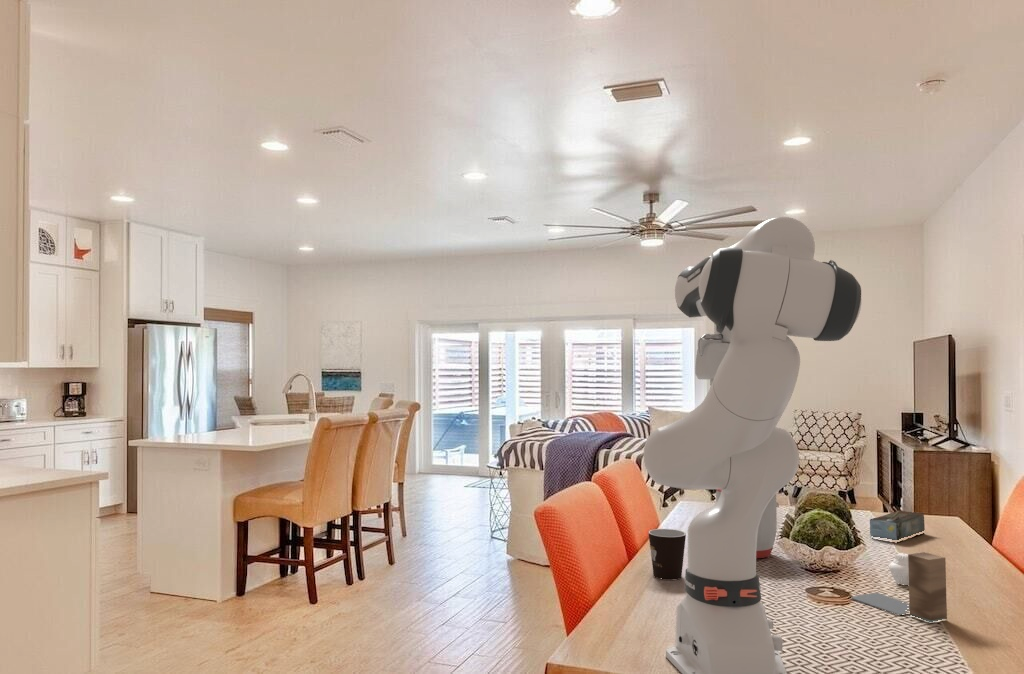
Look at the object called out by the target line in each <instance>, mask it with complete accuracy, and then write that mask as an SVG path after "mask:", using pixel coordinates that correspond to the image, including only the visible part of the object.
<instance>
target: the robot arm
mask: <svg viewBox="0 0 1024 674" xmlns="http://www.w3.org/2000/svg"><path fill="white" fill-rule="evenodd" d="M814 238H815V237H814V236H813V233H812V232H811V230H810V229H809V228H808V226H807V225H806V224H805V223H803V222H802V221H800V220H799V219H796V218H793V217H789V216H776V217H773V218H770V219H767V220H764V221H763V222H761V223H759V224H757V225H756V226H755V227H753V228H752V229H750V231H748V232H747V234H745V236H744V237H743V238H742V239H741V240H739V241H738V242H736V243H735V244H734V243H733V245H731V246H729V247H722V248H718V249H716V250H715V251H714V252H713V253H712V254H711V255H710V256H707V257H706V258H703V259H702V260H701V261H700V262H699V263H697V264H696V265H694V266H687V267H686V268H685V269H683V270H682V271H681V272H680V273H679V275H678V277H677V279H676V282H675V286H674V297H675V298H674V299H675V303H676V306H677V308H678V309H679V311H680V312H682V313H683V314H684V315H686V316H687V317H688V318H699V317H707V318H708V319H709V320H710V321H711V322H712V323H713V325H714V326H713V327H714V328H713V329H714V331H713V332H714V333H713V334H711V333H704V334H703V335H702V336H701V337H699V339H698V340H697V350H696V356H695V364H694V365H695V368H694V369H695V370H694V373H695V376H696V377H697V379H698V380H709V385H710V387H709V389H708V392H707V394H706V395H705V397H704V399H703V401H702V402H700V404H699V405H697V407H695V408H694V409H692V411H690V412H688V413H687V414H685V415H684V416H683V417H681V418H679V419H677V420H676V421H673V422H671V423H668V424H666V425H662V426H660V427H656V428H654V430H653V431H652V432H651V433H650V434H649V435H648V437H647V439H646V441H645V444H644V447H643V463H644V467H645V469H646V472H647V473H648V475H649V476H650V478H651V480H653V481H654V482H655V483H656V484H657V485H661V486H666V487H669V488H674V489H675V488H676V489H681V490H715V489H722V491H721V495H720V497H719V499H718V501H717V502H716V501H715V503H714V504H713V505H712V506H710V507H709V508H706V509H704V510H703V511H701V512H699V513H697V514H696V515H695V516H694V517H693V518H692V520H691V521H690V522H689V525H688V528H687V568H686V569H685V576H684V583H685V584H684V585H685V587H684V590H685V592H686V593H685V596H684V598H683V599H682V600H681V601H680V602H679V603H678V604H677V605H676V611H675V612H676V616H675V640H674V641H675V644H674V645H673V646H671V647H668V648H666V649H665V658H666V659H667V660H669V662H670V663H671V664H672V665H674V667H675V668H676V669H677V670H678V671H679V672H680V673H681V674H788V673H787V671H786V667H785V664H784V661H783V659H782V656H781V653H780V652H781V651H783V637H782V636H781V635H779V634H772V632H771V630H773V629H774V621H773V619H768V617H767V613H766V605H764V604H763V603H762V602H761V600H762V593H761V590H762V588H761V582H760V577H759V574H758V572H757V558H756V547H757V533H758V527H759V523H760V520H761V517H762V514H763V512H764V510H765V508H766V506H767V505H768V503H769V502H770V500H771V499H772V497H773V496H774V495H775V494H776V495H777V493H778V492H779V491H780V490H781V489H782V488H784V487H785V486H787V485H788V484H789V483H791V481H792V480H793V479H794V477H795V476H796V474H797V471H798V470H799V469H798V468H799V465H800V453H799V452H800V451H799V448H798V445H797V443H796V441H795V439H794V438H793V436H792V435H791V434H790V432H788V431H787V430H786V429H784V428H781V427H777V426H778V423H779V421H780V419H781V418H782V416H783V414H784V412H785V410H786V409H787V406H788V404H789V403H790V400H791V398H792V395H793V393H794V390H795V388H796V384H797V381H798V376H799V372H800V368H801V367H800V366H801V355H800V351H799V349H798V347H797V345H796V343H795V342H794V341H793V340H792V339H791V338H790V337H798V338H807V339H809V338H811V339H813V341H816V342H835V341H840V340H842V339H843V338H845V337H846V336H847V335H848V334H850V332H851V331H852V329H853V326H854V324H855V323H856V322H857V320H858V318H859V315H860V313H861V309H862V287H861V285H860V283H859V281H858V280H857V279H856V277H855V275H854V274H852V273H850V272H849V271H847V270H845V269H843V268H842V267H839V266H838V265H837V262H836V261H834V260H832V259H830V260H829V261H828V262H827V261H822V262H821V261H819V260H816V259H815V258H814V257H815V249H816V244H815V239H814Z"/></svg>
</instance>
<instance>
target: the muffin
mask: <svg viewBox="0 0 1024 674" xmlns="http://www.w3.org/2000/svg"><path fill="white" fill-rule="evenodd" d="M894 556H895V557H894V558H893V561H891V563H889V565H888V569H889V571H890V574H891V577H893V580H894V582H895V583H896V584H897V583H899V584H904V585H909V568H908V553H905V552H901V553H897V554H895V555H894Z"/></svg>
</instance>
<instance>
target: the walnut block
mask: <svg viewBox="0 0 1024 674" xmlns="http://www.w3.org/2000/svg"><path fill="white" fill-rule="evenodd" d="M907 554H908V553H907ZM908 568H909V586H908V598H909V599H908V603H909V611H910V614H909V616H910V615H912V616H915V617H918V618H921V619H923V620H926V621H929V622H933V621H938V620H942V619H947V620H948V612H947V611H948V606H947V601H948V600H947V572H946V570H947V569H946V568H947V567H946V557H945V556H940V555H937V554H932V553H928V552H925V551H922V552H918V553H917V552H916V553H909V554H908Z"/></svg>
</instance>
